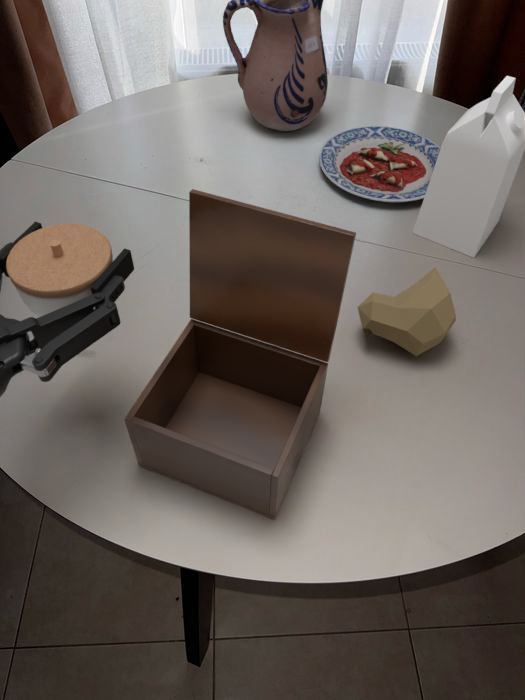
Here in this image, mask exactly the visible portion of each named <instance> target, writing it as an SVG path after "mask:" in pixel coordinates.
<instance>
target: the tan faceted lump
mask: <svg viewBox="0 0 525 700" xmlns="http://www.w3.org/2000/svg"><path fill="white" fill-rule="evenodd" d="M356 309H357V311H358V316H359V320H360V324H361V328H362V331H363V336H364V339H365V340H367V339H369V338H370V337H371V335H376V336H378V337H380V338H383V339H386V340H388V341H390V342H393V343H395V344H396V345H398V346H399V347H401V348H403V349H404V350H406V351H407V352H409V353H410V354H412V355H413V356H415V357H418V356H419V355H421V354H423V353H425V352H427V351H429V350H430V349H433V348H434V347H436V346H437V345H439V344H441V343H442V341H443V340H444V339H445V337H446V336H447V334H448V333H449V331H450V330H451V328H452V327H453V325H454V324H455V322H456V319H457V315H456V310H455V306H454V303H453V299H452V293H451V291H450V290H449V288H448V286H447V284H446V282H445V280H444V279H443V277H442V276H441V274H440V272H439V270H438V269H437V267H436V266H434V267H433V268H432V269H431V270H429V272H427V273H426V274H425V275H424V276H423V277H422V278H420V279H419V280H418V281H416V282H415V283H413V284H412V285H410V286H409V287H407V288H406V289H404V290H403V291H401V292H400V293H399V294H397V295H396V296H391V295H387V294H383V293H378V292H372V293H371V294H370V295H369V296H368V297H366V299H365V300H364V301H362V302H361V303H360V304H359V305H357V307H356Z"/></svg>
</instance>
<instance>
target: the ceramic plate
mask: <svg viewBox="0 0 525 700" xmlns="http://www.w3.org/2000/svg"><path fill="white" fill-rule="evenodd" d="M440 149H441V146H440V145H438V144H436V143H435V142H434V141H432V140H431V139H429V138H427V137H425V136H423V135H420V134H418V133H416V132H412V131H410V130H405V129H401V128H398V127H391V126H377V125H376V126H362V127H356V128H352V129H347V130H344V131H342V132H340V133H338V134H336V135H334V136H332V137H330V138H329V139H328V140H327V141H326V142H325V143H324V144H323V145H322V147H321V150H320V152H319V165H320V168H321V171H322V172H323V173H324V175H325V176H326V178H327V179H329V181H330V182H331V183H332V184H334V185H335V186H336V187H338V188H340V189H342V190H343V191H345V192H347V193H348V194H352V195H355V196H357V197H359V198H364V199H367V200H370V201H376V202H383V203H407V202H414V201H419V200H424V197H425V194H426V191H427V188H428V185H429V182H430V179H431V176H432V173H433V170H434V167H435V164H436V161H437V158H438V155H439V152H440Z"/></svg>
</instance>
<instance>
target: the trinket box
mask: <svg viewBox="0 0 525 700" xmlns="http://www.w3.org/2000/svg"><path fill="white" fill-rule="evenodd" d="M113 255H114V254H113V250H112V245H111V243H110V240H109V239H108V238H107V237H106V235H104V233H102V232H100V231H99V230H97V229H95V228H93V227H91V226H88V225H84V224H79V223H59V224H58V223H57V224H52V225H49V226H45V227H42V229H39V230H36V231H34V232H32V233H30V234H28V235H27V236H25V237H24V238H22V239H21V240H20V241H19V242H18V243H17V244H16V245H15V246H14V247H13V248H12V250H11V251H10V253H9V255H8V258H7V261H6V269H7V273H8V275H9V277H10V278H9V277H8V278H9V279H10V282H11V283H12V284H13V286H14V288H15V290H16V292H17V294H18V296H19V297H20V299H21V301H22V302H23V303H24V304H25V306H26V307H27V308H28V310H30V311H31V312H32V313H33V314H34V315H36V316H37V317H38V318H39V317H41V316H44V315H46V314H48V313H51V312H53V311H55V310H57V309H60V308H62V307H64V306H67V305H69V304H71V303H74V302H76V301H78V300H81V299H83V298H85V297H88V296H90V295H92V291H91V288H90V287H91V286H92V285H93V284H94V283H95V282H96V281H97V279H98V278H99V277H100V276H101V275H102V274H103V272H104V271H105V270H106V269H107V268H108V267H109V266H110V264H111V263H112V262H113V261H114V258H113V257H114V256H113ZM93 309H95V307H94V308H93Z"/></svg>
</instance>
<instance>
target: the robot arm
mask: <svg viewBox="0 0 525 700" xmlns="http://www.w3.org/2000/svg"><path fill="white" fill-rule="evenodd" d="M42 228H43V224H42V223H41V222H39V221H34V222H33V223H32V224H31V225H30V226H29V227H27V229H26V230H24V231H23V232H22V234H21V235H20V236H18V237H17V238H16V239H15V240H14V241H10V242H8V243H6V244H5V245H4V246H3V247H2V248H1V249H0V293H1V290H2V285H3V278H4V277H3V274H4V276H5V277H6V278H9V279H10V277H9V275H8V273H7V269H6V261H7V258H8V255H9V253H10V251H11V250H12V248H13V247H14V246H15V245H16V244H17V243H18V242H19V241H20V240H21V239H22V238H24V237H25V236H27V235H28V234H30V233H32V232H34V231H36V230H39V229H42ZM134 271H135V264H134V260H133V256H132V250H131V249H128V248H123V250H121V252H120V253H119V254H118V255H117V256H115V258H114V259H113V262H112V263H111V264H110V266H109V267H108V268H107V269H106V270H105V271H104V272H103V274H102V275H101V276H100V277H99V278H98V279H97V281H96V282H95V283H94V284H93V285H92V286H91V287H90V288H91V291H92V295H90V296H88V297H85V298H83V299H81V300H78V301H76V302H74V303H71V304H69V305H67V306H64V307H62V308H60V309H57V310H55V311H53V312H51V313H48V314H46V315H44V316H41V317H39V316H38V317H37V318H36V317H33V316H30V317H27V318H24V319H22V320H18V319H15V318H9V317H5V316H4V315H3V314H1V313H0V398H1V397H2V396H3V395H4V394H5V392H6V391H7V389H8V386H9V383H10V381H11V380H12V378H13V377H14V376H17V375H18V374H19V373H22V372H23V371H27V372H30V373H32V374H36V375H37V376H38V379H39V380H40V382H43V383H47V382H50V381H52V379H53V378H54V377H55V375H57V373H58V372H59V371H60V369H61V368H62V366H64V365H65V364H67V363H68V362H69V361H71V360H73V358H75V357H77V356H78V355H80V354H81V353H82V352H84V351H85V350H86V349H88V348H89V347H91V346H92V345H94V344H95V343H96V342H97V341H99V340H100V339H102V338H103V337H105V336H106V335H108V334H109V333H110V332H112V331H113V330H115V329H116V328H118V327H119V326H120V325H121V318H120V314H119V310H118V306H117V303H116V301H117V300H118V299H119V297H120V296H121V295H122V294H123V292H124V291H125V289H126V286H125V281H126V280H127V279H128V278H129V277H130V275H131V274H132V273H133V272H134ZM94 307H95V309H93V308H94ZM30 332H31V334H32V336H33V338H32V339H31V340H30V335H29V333H30Z"/></svg>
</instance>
